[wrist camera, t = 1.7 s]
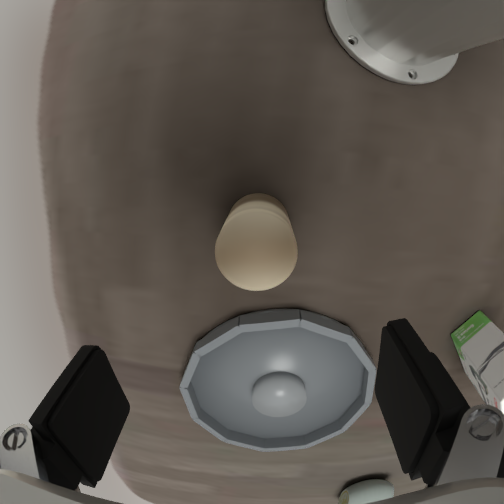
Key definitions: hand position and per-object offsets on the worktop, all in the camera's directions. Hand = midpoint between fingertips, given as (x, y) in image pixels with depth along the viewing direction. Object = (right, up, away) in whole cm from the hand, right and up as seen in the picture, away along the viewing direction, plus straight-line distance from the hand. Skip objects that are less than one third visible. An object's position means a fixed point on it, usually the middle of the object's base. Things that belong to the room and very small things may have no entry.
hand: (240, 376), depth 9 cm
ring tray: (+3, -11, +22) cm, 25 cm away
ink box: (+27, -7, +20) cm, 34 cm away
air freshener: (+20, -38, +32) cm, 53 cm away
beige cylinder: (+1, +6, +16) cm, 17 cm away
